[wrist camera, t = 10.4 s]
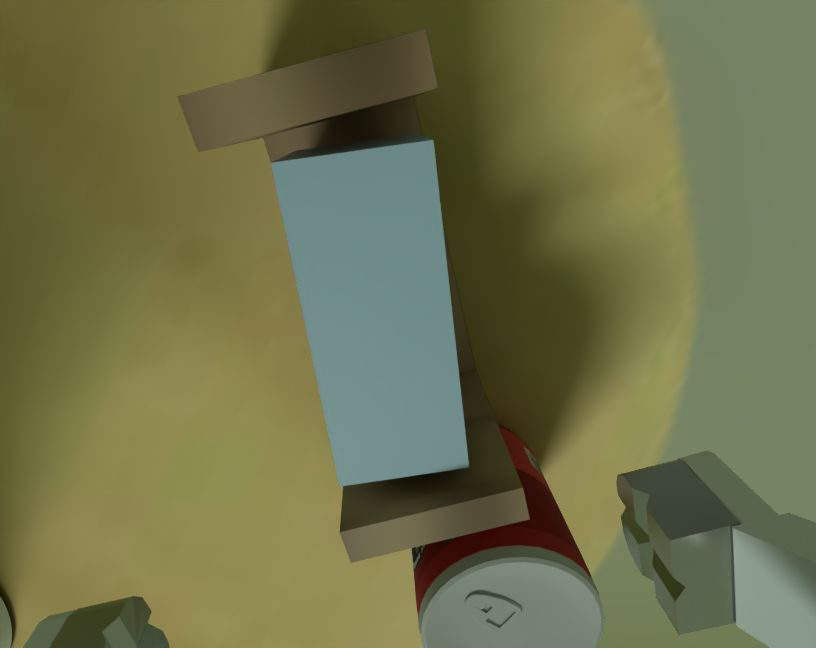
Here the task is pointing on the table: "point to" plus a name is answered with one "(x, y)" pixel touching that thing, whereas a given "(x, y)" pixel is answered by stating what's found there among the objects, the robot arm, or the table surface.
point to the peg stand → (395, 116)
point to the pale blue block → (376, 304)
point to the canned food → (509, 579)
